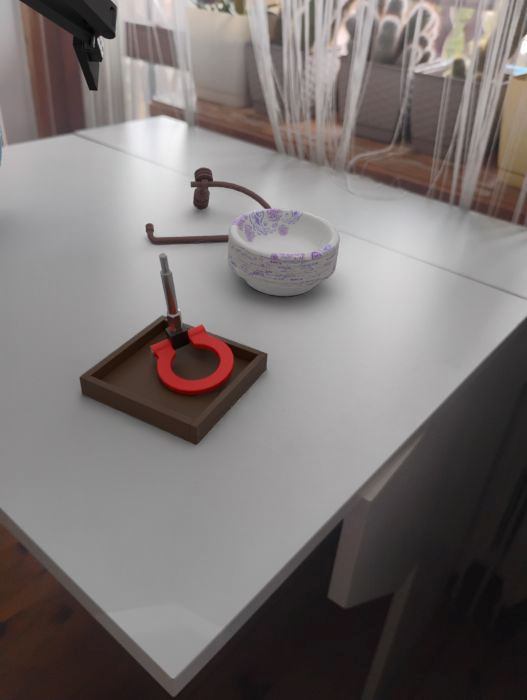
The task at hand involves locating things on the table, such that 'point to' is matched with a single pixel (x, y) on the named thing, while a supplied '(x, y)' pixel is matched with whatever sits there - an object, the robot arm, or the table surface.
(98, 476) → the table surface
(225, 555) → the table surface
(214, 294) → the table surface
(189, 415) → the tray
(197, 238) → the toilet paper hanger
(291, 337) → the table surface
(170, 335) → the tow hook
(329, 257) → the paper bowls
